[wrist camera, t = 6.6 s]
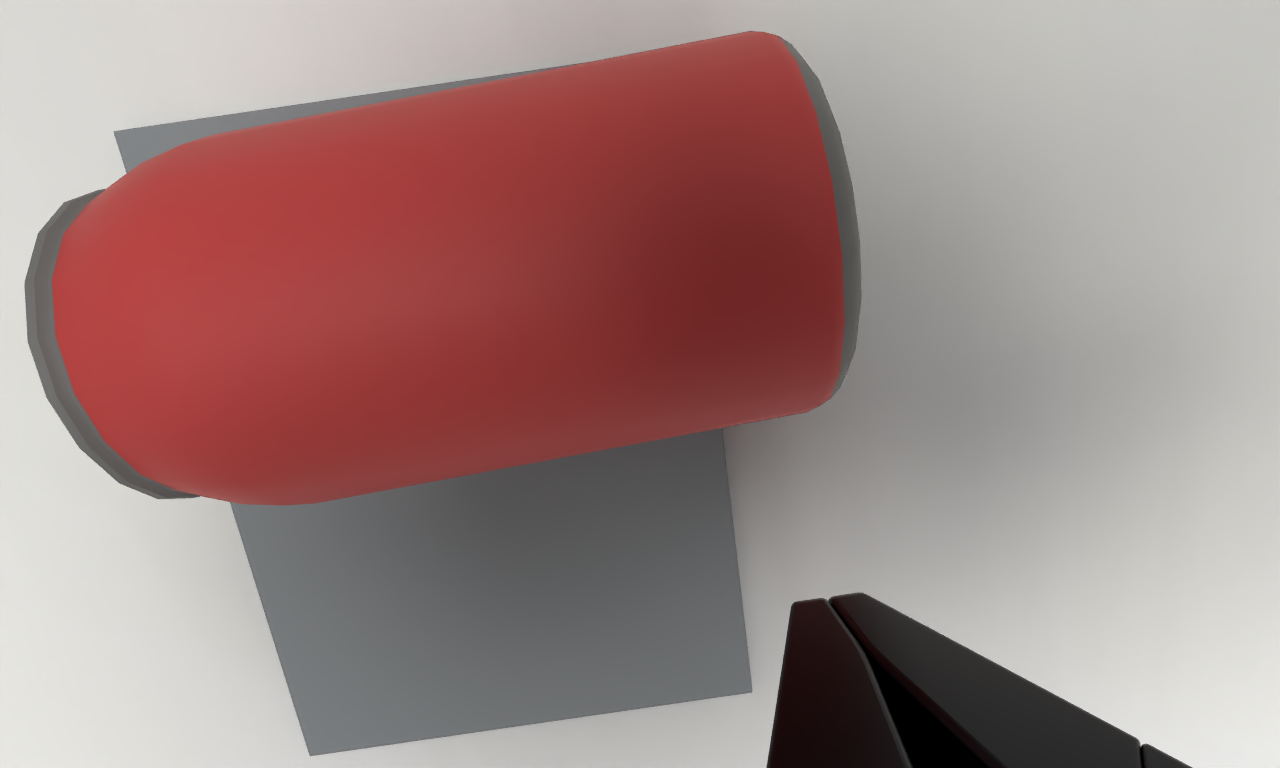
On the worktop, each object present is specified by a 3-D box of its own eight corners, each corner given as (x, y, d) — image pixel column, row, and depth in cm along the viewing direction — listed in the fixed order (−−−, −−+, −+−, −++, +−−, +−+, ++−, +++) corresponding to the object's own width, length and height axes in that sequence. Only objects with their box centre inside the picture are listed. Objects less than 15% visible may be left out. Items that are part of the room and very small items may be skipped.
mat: (676, 51, 15) (677, 49, 15) (750, 684, 19) (752, 692, 19) (123, 133, 15) (114, 131, 15) (314, 747, 19) (309, 756, 19)
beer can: (920, 325, 9) (-45, 505, 9) (822, 441, 15) (263, 544, 15) (791, -81, 11) (6, 71, 11) (753, 173, 17) (259, 267, 17)
